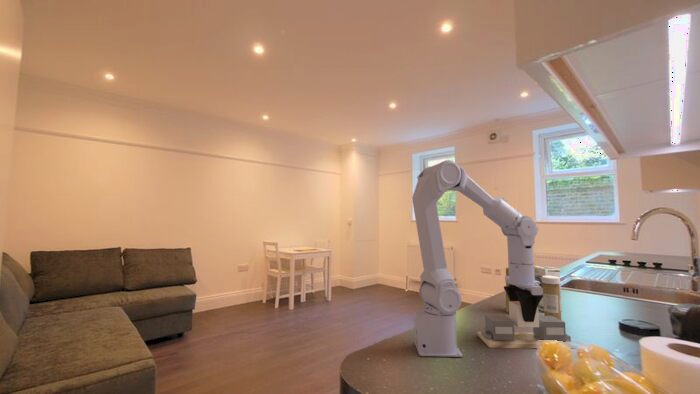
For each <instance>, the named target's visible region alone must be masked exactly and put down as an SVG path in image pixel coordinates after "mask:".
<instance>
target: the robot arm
mask: <svg viewBox="0 0 700 394" xmlns="http://www.w3.org/2000/svg"><path fill="white" fill-rule="evenodd" d="M416 178H417V183H416V185H415V188H414V191H413V193H412V194H413V195H412V196H411V197H412V204H413V211H414V212H413V213H414V218H415V224H416V229H417V231H416V232H417V236H418V242H419V243H418V244H419V248H420V254H421V260H422V268H423V271H422V272H421V274H420V276H419V277H420V278H419V279H420V285H419V287H418V295H419V297H420V299H421V301H422V303H423V309H421V310H415V311H414V317H413V318H414V320H413V321H414V336H413V337H414V345H415V347H416V350H417V352H418V355H419V356H420V357H445V358H446V357H447V358H448V357H452V358H453V357H454V358H455V357H457V358H460V357H461V358H462V357H463V353H462V352H461V350H460V349H459V347H458V346H457V345H458V344H457V316H456V315H457V311H458V310H459V309H460V308H461V305H462V295H461V292H460V291H459V289H458V288H457V286H456V281H455V279H454V277H453V276H452V274H451V273H450V271H449V269H448V266H447V259H446V253H445V247H444V241H443V236H442V231H441V223H440V219H439V217H440V216H439V213H438V206H437V203H438V202H439V200H440V199H441V198H442V196H443V195H444V194H445V193H446V192H448V191H454V192H455V191H456V192H459V193H461V194H462V195H463V196H465V197H466V198H468V199H469V200H470V201H472V202H474V203H475V204H476V205H478V206H479V207H481V208H482V212H483V215H484V216H485V217H487V218H488V219H490V221H492V222H493V223H494V224H496V225H497V226H498V227H500V229H501V232H502V234H503V235H504V236H505V237H506V241H507V262H508V268H509V276H506V275H505V276H504V277H505V278H504V279H505V281H504V282H505V284H506V283H507V284H510V285H509V286H506V285H504V286H503V289H504V291H505V294H506V293H507V295H508V297H509V300H510V301H519V302H520V305H521V311H522V316H523V320H524V321H525V322H534V319H535V314H536V310H537V307H538V304H539V302H540V301H541V299H542V298H543V294H542V287H541V286H539V285H538V284H540V282H539V281H537V280H535V275H534V266H535V259H534V257H535V256H534V245H535V243H536V241H535V239H536V236H537V235H538V232H539V226H537V223H536V221H535V220H534V219H533V218H532V217H530V216H528V215H523V214H522V213H521V211H520V210H519V209H516V208H515V207H513V206H512V205H510V204H509V203H508V200H507V199H506V198H505V197H500V196H496V197H493V196H491V195H490V194H489V193H488V192H487V191H486V190H485V189H483V188H482V186H480V185H479V184H478V183H477V182H476V181H474V180H473V179H472V178H471V177H470V176H469V175H468V174H467V172H466V170H465V168H463V167H462V166H459V164H457V162H455V161H454V160H450V159H449V160H448V159H447V160H443V161H441V162H439V163H437V164H435V165H432V166H428V167H425V168H424V169H423V170H422V171H421V172H420V173H419V174H418V175H417V177H416Z"/></svg>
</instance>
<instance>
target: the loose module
mask: <svg viewBox="0 0 700 394" xmlns="http://www.w3.org/2000/svg"><path fill="white" fill-rule="evenodd" d="M508 314H509V317H508V318H509V319H511V320H512V321H514V326H516V327H517V328H533V327H539V316H540V315H539V309H538V307H537V310H536V314H535V319H534V322H525V321H524V320H523V316H522V311H521V305H520V302H519V301H509V313H508Z"/></svg>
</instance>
